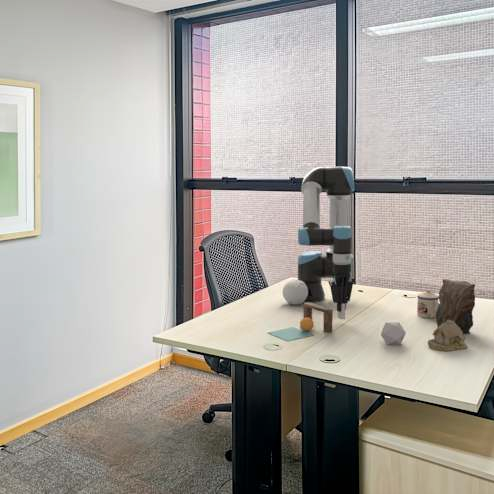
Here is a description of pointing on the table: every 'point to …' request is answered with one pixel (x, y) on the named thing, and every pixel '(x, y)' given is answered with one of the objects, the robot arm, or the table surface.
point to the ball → (306, 324)
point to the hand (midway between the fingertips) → (341, 318)
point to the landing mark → (290, 334)
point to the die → (393, 333)
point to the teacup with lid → (427, 304)
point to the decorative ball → (295, 292)
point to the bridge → (326, 315)
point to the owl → (456, 304)
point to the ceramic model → (447, 337)
